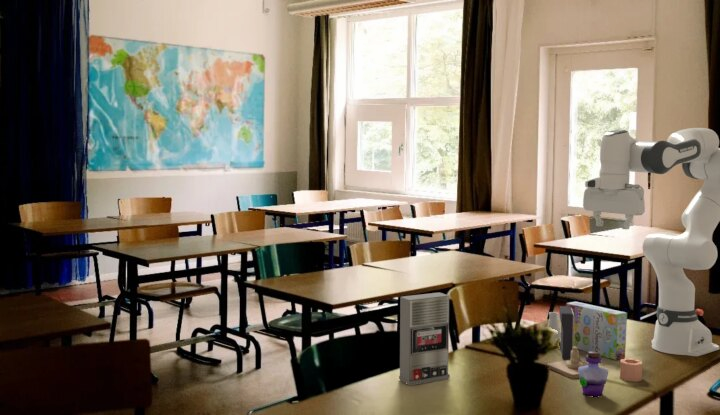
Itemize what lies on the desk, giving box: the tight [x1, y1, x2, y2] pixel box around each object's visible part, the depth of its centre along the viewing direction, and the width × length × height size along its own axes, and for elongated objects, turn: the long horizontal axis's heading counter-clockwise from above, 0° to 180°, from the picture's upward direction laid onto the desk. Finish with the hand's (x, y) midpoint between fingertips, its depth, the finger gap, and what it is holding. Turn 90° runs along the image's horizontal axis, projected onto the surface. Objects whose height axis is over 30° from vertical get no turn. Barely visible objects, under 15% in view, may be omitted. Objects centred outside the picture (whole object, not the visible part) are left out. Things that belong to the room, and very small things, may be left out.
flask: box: [547, 311, 561, 344], centre depth 266 cm, size 7×7×10 cm
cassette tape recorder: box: [398, 292, 451, 386], centre depth 223 cm, size 14×6×25 cm, turn 117°
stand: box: [545, 347, 588, 380], centre depth 234 cm, size 12×12×7 cm
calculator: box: [559, 305, 575, 360], centre depth 250 cm, size 11×4×15 cm, turn 168°
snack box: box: [565, 301, 628, 361], centre depth 254 cm, size 21×6×15 cm, turn 35°
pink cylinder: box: [619, 357, 643, 382], centre depth 226 cm, size 6×6×5 cm
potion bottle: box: [578, 351, 609, 398], centre depth 212 cm, size 9×9×12 cm
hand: (612, 227), depth 237 cm, fingers open, 8 cm apart
